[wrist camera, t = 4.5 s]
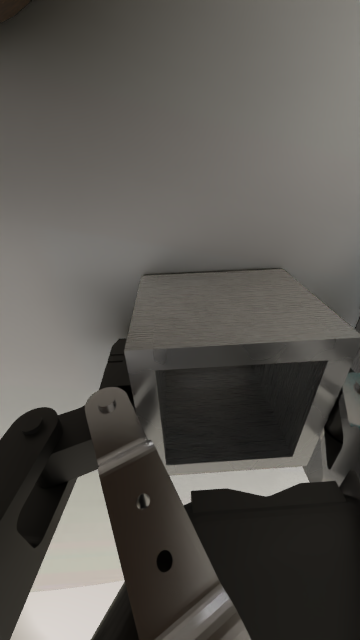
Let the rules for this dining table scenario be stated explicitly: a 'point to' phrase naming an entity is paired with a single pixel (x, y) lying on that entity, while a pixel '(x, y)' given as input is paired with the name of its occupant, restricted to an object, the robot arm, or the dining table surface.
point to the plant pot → (11, 8)
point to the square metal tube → (234, 368)
